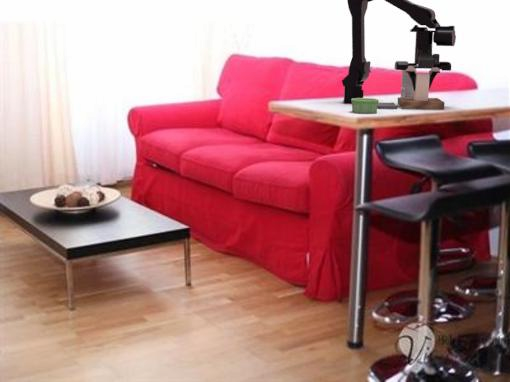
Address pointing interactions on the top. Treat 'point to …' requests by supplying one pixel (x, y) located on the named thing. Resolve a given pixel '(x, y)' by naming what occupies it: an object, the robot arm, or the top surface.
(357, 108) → the ramekin
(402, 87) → the energy drink
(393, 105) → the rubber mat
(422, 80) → the pink block
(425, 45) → the robot arm
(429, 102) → the pocket block
